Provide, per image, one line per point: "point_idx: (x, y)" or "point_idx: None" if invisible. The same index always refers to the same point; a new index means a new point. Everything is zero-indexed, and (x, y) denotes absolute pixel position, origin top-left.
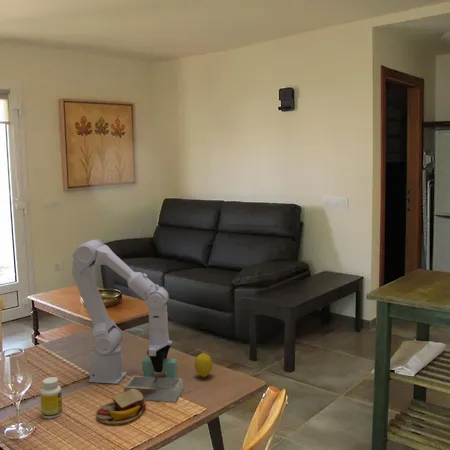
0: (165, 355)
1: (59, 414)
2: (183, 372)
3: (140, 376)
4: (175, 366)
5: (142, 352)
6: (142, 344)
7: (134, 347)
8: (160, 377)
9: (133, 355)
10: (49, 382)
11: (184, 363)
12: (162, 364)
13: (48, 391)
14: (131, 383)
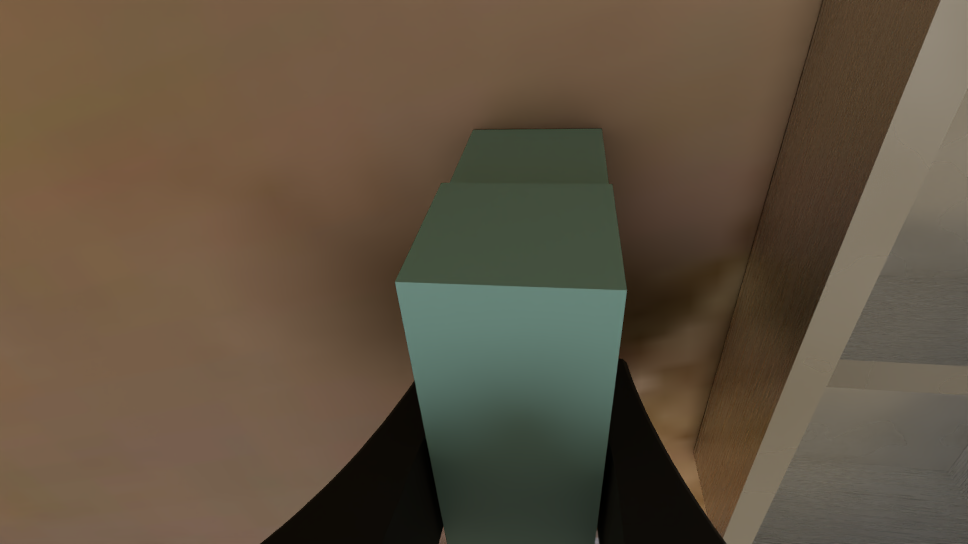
0: (403, 502)
1: None
2: (265, 97)
3: (751, 512)
4: (557, 228)
5: (110, 484)
6: (11, 498)
7: (82, 523)
8: (818, 339)
9: (184, 514)
10: None
11: (47, 155)
12: (641, 447)
13: None
14: (860, 530)
